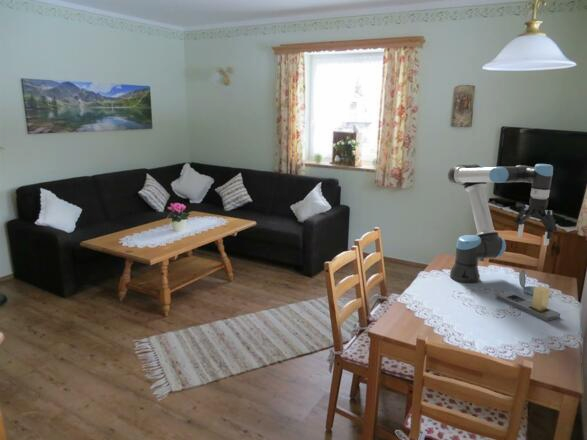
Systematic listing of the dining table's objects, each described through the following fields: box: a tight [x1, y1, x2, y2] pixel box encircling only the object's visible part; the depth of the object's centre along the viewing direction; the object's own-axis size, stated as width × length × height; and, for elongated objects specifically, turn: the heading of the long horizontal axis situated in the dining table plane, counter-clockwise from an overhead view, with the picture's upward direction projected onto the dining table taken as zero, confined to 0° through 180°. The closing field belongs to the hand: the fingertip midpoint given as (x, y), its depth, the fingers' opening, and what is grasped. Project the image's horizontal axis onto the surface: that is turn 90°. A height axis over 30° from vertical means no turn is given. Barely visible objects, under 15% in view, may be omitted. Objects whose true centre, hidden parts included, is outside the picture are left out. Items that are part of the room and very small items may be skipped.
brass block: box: [531, 285, 551, 313], centre depth 193 cm, size 4×4×12 cm
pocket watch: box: [518, 268, 552, 297], centre depth 215 cm, size 10×11×15 cm
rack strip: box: [495, 291, 561, 322], centre depth 199 cm, size 26×9×2 cm, turn 26°
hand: (532, 241), depth 204 cm, fingers open, 13 cm apart
